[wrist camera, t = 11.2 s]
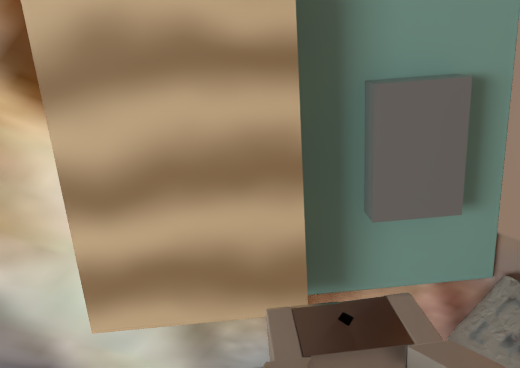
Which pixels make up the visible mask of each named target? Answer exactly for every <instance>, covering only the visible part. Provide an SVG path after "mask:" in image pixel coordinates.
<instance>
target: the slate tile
mask: <svg viewBox="0 0 520 368" xmlns="http://www.w3.org/2000/svg"><path fill="white" fill-rule="evenodd" d="M471 88H472V76H467V75H461V74H447V75H433V76H420V77H407V78H393V79H380V80H367V81H365V153H364V212H365V213H366V215H367V216H368V217H369V219H370V220H371V221H372V222H373V223H375V222H387V221H398V220H410V219H421V218H432V217H444V216H455V215H462V207H463V193H464V180H465V167H466V154H467V141H468V127H469V114H470V101H471Z"/></svg>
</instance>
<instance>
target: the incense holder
mask: <svg viewBox="0 0 520 368" xmlns="http://www.w3.org/2000/svg"><path fill="white" fill-rule="evenodd" d="M448 340H452V341H454V342H456V343H458V344H460V345H462V346H464V347H466V348H468V349H470V350H472V351H474V352H476V353H478V354H480V355H482V356H484V357H487V358H489V359H491V360H493V361H495V362H497V363H499V364H501V365H503V366H505V367H507V368H520V282H519V281H517V280H516V279H514V278H512V277H510V276H503V278H502V279H501V280H500V281H499V282H497V284H496V285H494V288H493V289H492V290H491V291H490V292H489V293H488V294H487V296H486V297H485V298H484V299H483V300H482V301H481V302H480V303H479V304H478V305H477V306H476V307H475V308H474V310H473V311H472V312H470V313H469V314H468V316H467V317H466V318H465V319H464V320H463V321H462V322H461V323H460V324H459V325H458V326H457V327H456V328H455V329H454V331H453V332H451V334H450V335H449V336H448Z"/></svg>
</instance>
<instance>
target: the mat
mask: <svg viewBox="0 0 520 368" xmlns="http://www.w3.org/2000/svg"><path fill="white" fill-rule="evenodd" d="M519 11H520V0H296V22H297V46H298V71H299V96H300V120H301V145H302V170H303V194H304V219H305V244H306V268H307V293H308V295H312V294H323V293H333V292H344V291H354V290H365V289H376V288H386V287H397V286H407V285H418V284H428V283H439V282H449V281H460V280H471V279H481V278H492V277H493V268H494V258H495V248H496V238H497V228H498V217H499V208H500V198H501V187H502V178H503V169H504V159H505V149H506V139H507V129H508V119H509V109H510V99H511V89H512V79H513V70H514V59H515V50H516V40H517V29H518V20H519ZM447 74H461V75H467V76H472V88H471V101H470V114H469V127H468V141H467V154H466V167H465V180H464V193H463V207H462V215H455V216H444V217H432V218H421V219H410V220H398V221H387V222H375V223H373V222H372V221H371V220H370V219H369V217H368V216H367V215H366V213H365V212H364V153H365V81H367V80H380V79H393V78H407V77H420V76H433V75H447Z"/></svg>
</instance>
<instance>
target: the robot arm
mask: <svg viewBox="0 0 520 368" xmlns="http://www.w3.org/2000/svg"><path fill="white" fill-rule="evenodd" d="M266 322H267V334H268V346H269V357H270V362H266V363H265V364H264V366H263V367H262V368H507V367H505V366H503V365H501V364H499V363H497V362H495V361H493V360H491V359H489V358H487V357H484V356H482V355H480V354H478V353H476V352H474V351H472V350H470V349H468V348H466V347H464V346H462V345H460V344H458V343H456V342H454V341H452V340H449V341H444V340H443V339H442V337H441V336H440V335H439V333H438V332H437V330H436V329H435V328H434V326H433V325H432V323H431V322H430V321H429V319H428V318H427V316H426V315H425V314H424V312H423V311H422V309H421V308H420V307H419V305H418V304H417V302H416V301H415V299H414V298H413V297H412V295H411V294H409V293H400V294H393V295H387V296H383V297H375V298H368V299H360V300H352V301H344V302H329V303H319V304H308V305H297V306H290V307H289V306H286V307H277V308H268V309H266Z"/></svg>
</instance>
